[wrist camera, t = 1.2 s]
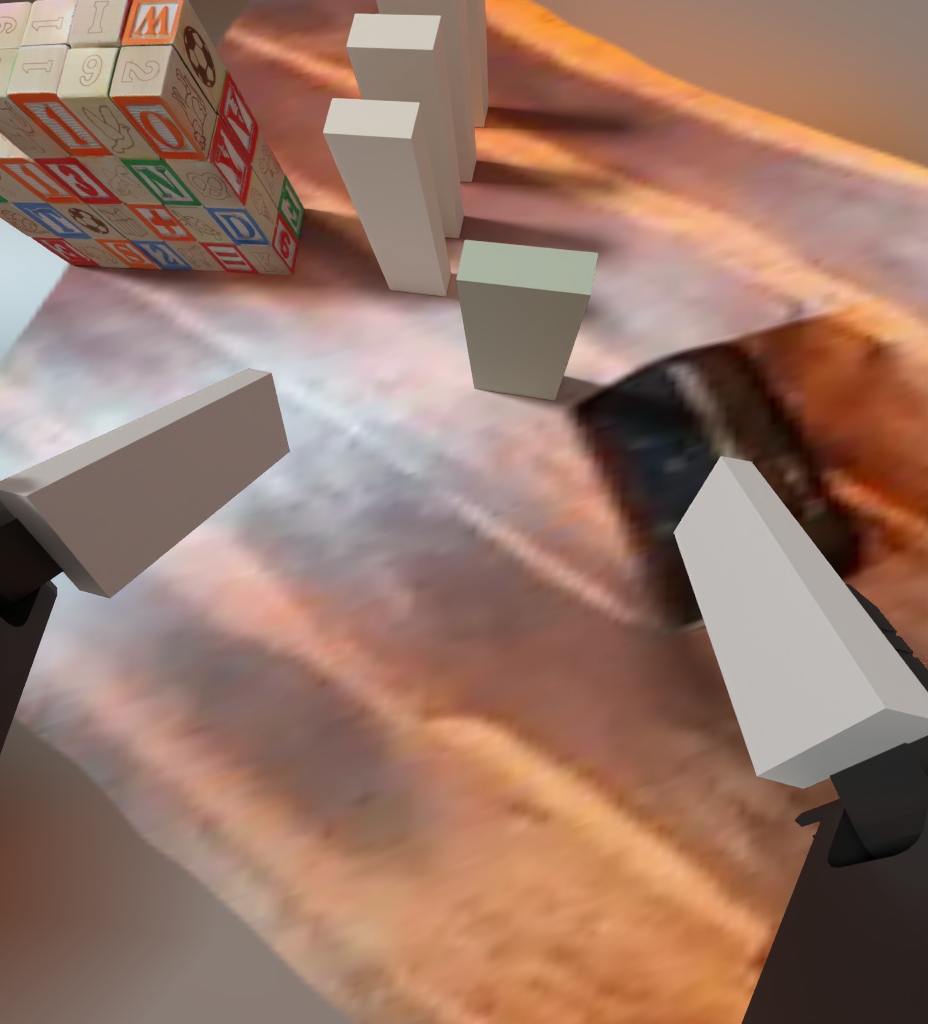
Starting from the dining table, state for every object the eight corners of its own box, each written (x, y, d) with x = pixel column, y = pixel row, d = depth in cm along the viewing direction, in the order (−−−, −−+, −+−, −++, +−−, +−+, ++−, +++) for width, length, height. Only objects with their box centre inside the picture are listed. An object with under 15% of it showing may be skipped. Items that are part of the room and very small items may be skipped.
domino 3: (445, 296, 29) (411, 138, 18) (389, 289, 29) (322, 133, 18) (451, 273, 29) (419, 102, 18) (395, 267, 29) (332, 98, 19)
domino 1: (471, 182, 30) (453, -35, 19) (416, 178, 30) (368, -35, 19) (476, 160, 30) (461, -67, 19) (421, 156, 30) (376, -67, 19)
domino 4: (483, 127, 30) (472, -115, 19) (429, 124, 31) (389, -113, 20) (488, 106, 30) (480, -146, 19) (434, 103, 31) (397, -143, 20)
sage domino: (555, 400, 27) (590, 295, 16) (474, 388, 28) (456, 279, 17) (559, 374, 27) (598, 253, 16) (479, 363, 28) (464, 239, 17)
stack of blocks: (72, 268, 33) (-180, 101, 21) (88, 205, 34) (-148, 7, 21) (295, 276, 30) (157, 90, 18) (307, 208, 31) (182, -15, 19)
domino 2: (458, 238, 29) (432, 49, 18) (403, 233, 30) (346, 46, 19) (464, 215, 29) (441, 15, 18) (408, 210, 30) (355, 13, 19)
